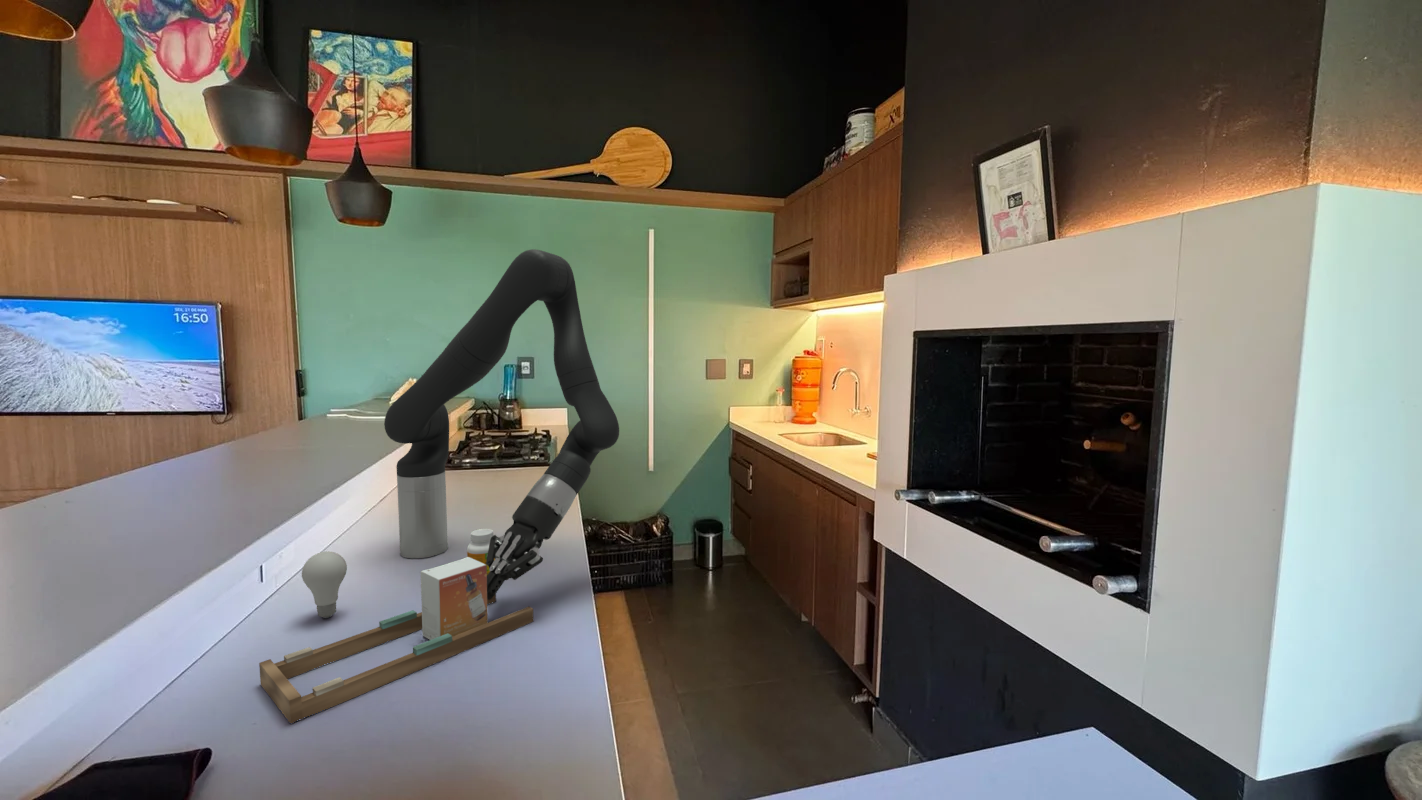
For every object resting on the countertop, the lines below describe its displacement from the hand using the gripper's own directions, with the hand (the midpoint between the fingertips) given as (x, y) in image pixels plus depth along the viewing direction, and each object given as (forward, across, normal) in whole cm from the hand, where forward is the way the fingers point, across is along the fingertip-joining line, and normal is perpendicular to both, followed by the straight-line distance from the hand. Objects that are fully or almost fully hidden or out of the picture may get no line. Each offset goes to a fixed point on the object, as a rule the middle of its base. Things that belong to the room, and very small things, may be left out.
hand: (483, 596), depth 93 cm
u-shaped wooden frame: (+11, 0, -5) cm, 12 cm away
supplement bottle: (-3, -15, +9) cm, 17 cm away
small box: (+6, 0, 0) cm, 6 cm away
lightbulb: (+14, -21, -8) cm, 26 cm away
